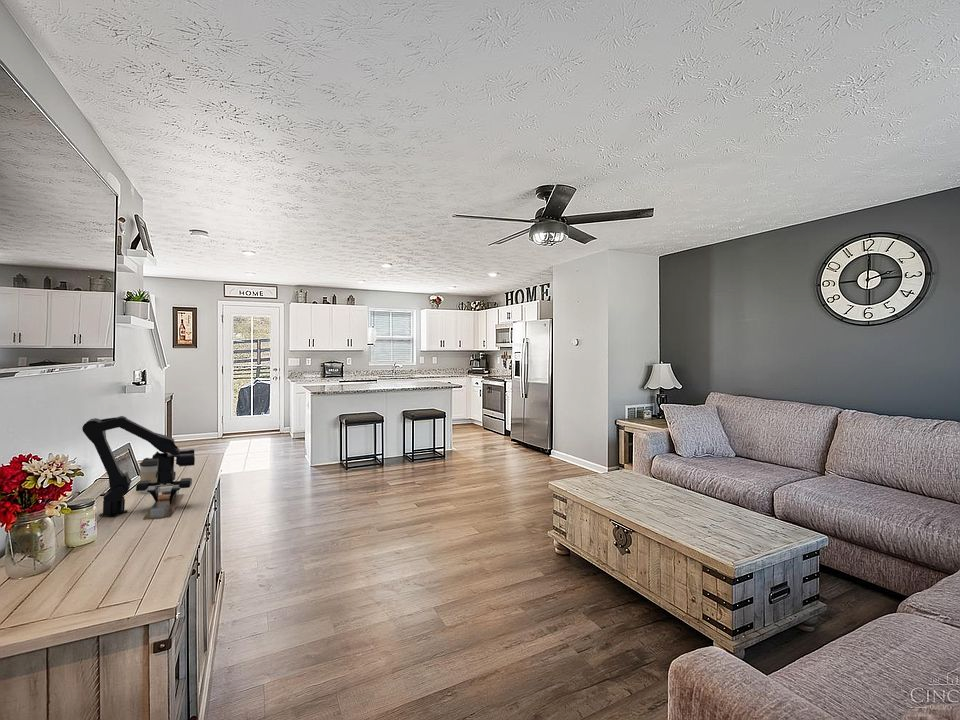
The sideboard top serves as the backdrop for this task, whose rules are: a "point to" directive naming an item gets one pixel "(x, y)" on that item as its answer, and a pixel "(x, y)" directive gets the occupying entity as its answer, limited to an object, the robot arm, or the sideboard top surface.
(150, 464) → the coffee cup
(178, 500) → the tube base
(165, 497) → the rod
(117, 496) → the robot arm
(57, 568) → the sideboard top surface
